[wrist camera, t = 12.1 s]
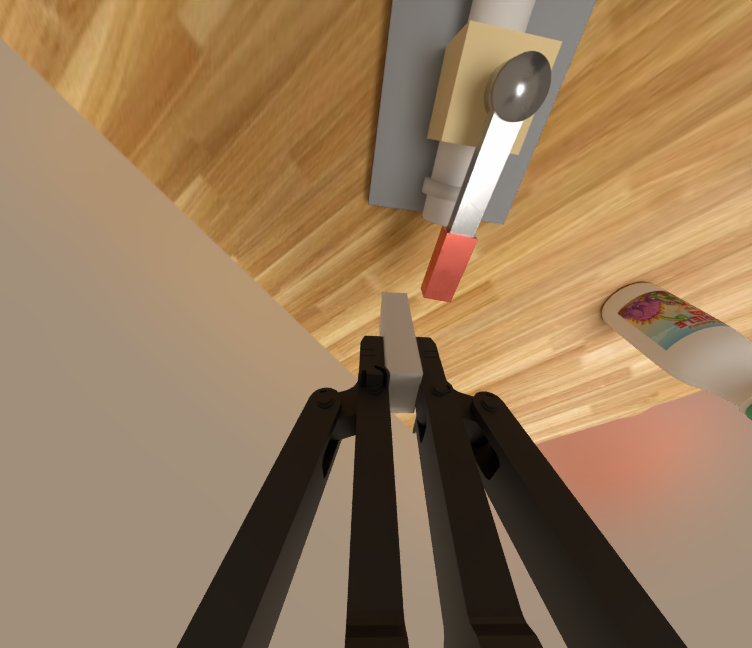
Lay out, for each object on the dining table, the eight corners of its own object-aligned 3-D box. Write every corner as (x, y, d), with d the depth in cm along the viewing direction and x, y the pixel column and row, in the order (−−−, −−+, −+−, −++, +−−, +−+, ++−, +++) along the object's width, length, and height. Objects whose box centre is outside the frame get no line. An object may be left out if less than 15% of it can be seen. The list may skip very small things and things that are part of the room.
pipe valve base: (403, -89, 20) (429, -257, 11) (598, -37, 21) (753, -148, 13) (368, 200, 31) (368, 227, 23) (496, 219, 33) (542, 252, 24)
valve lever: (498, 51, 16) (512, 43, 15) (544, 66, 17) (562, 60, 15) (417, 287, 26) (420, 297, 24) (448, 292, 26) (453, 303, 25)
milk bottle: (646, 317, 43) (816, 433, 26) (594, 328, 44) (727, 446, 28) (664, 275, 38) (881, 382, 22) (605, 288, 39) (771, 399, 23)
